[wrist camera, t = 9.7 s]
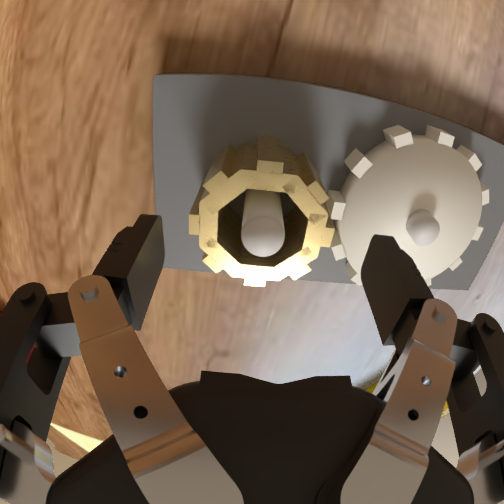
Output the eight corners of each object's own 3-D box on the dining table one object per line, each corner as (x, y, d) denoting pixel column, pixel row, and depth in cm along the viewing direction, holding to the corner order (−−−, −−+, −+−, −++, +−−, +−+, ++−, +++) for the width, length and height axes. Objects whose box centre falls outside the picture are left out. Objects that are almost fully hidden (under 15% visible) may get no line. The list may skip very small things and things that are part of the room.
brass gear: (205, 131, 14) (188, 154, 11) (328, 144, 15) (349, 172, 11) (202, 235, 18) (190, 279, 15) (307, 245, 18) (317, 290, 15)
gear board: (164, 73, 14) (104, 86, 8) (510, 147, 15) (576, 193, 9) (168, 249, 21) (137, 329, 15) (458, 274, 22) (496, 338, 16)
